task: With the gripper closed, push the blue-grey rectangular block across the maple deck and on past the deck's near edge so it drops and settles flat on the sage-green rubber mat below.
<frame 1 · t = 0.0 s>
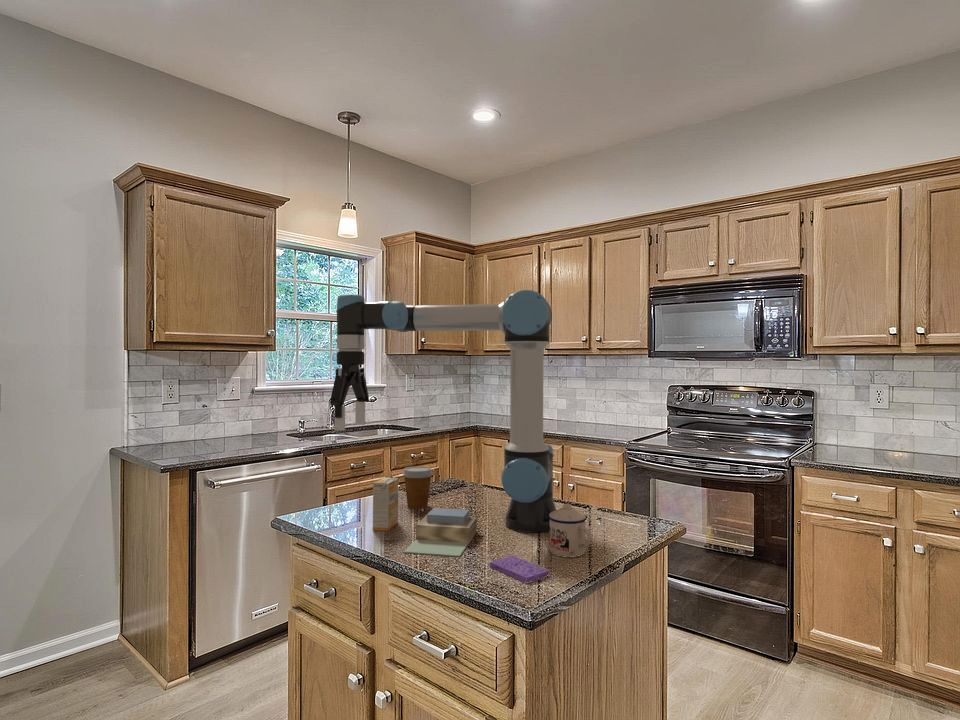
hand: (350, 427, 160), 28 cm above the counter, fingers open, 13 cm apart
deck: (447, 536, 153), on the counter
supplement box: (385, 527, 162), on the counter
blue-grey rectangular block: (448, 519, 154), point 4 cm above the counter, touching deck
disposable coffee cup: (417, 506, 184), on the counter
mat: (436, 548, 143), on the counter
sponges: (519, 574, 128), on the counter
teacup with lid: (571, 554, 140), on the counter
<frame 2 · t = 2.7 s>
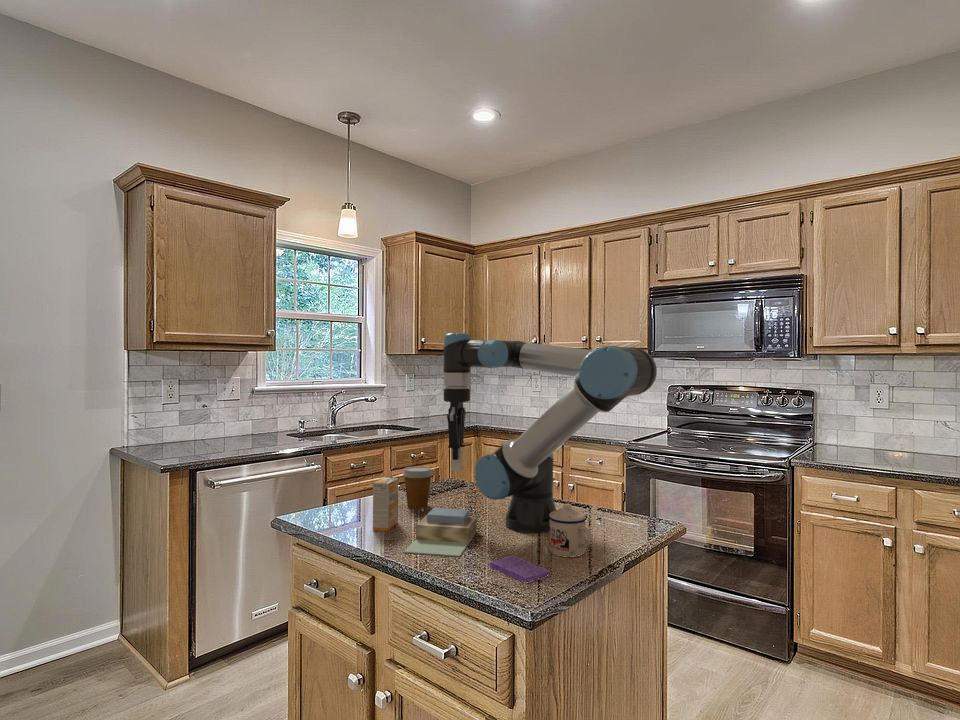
hand: (456, 470, 164), 15 cm above the counter, fingers closed
nothing on the counter moved.
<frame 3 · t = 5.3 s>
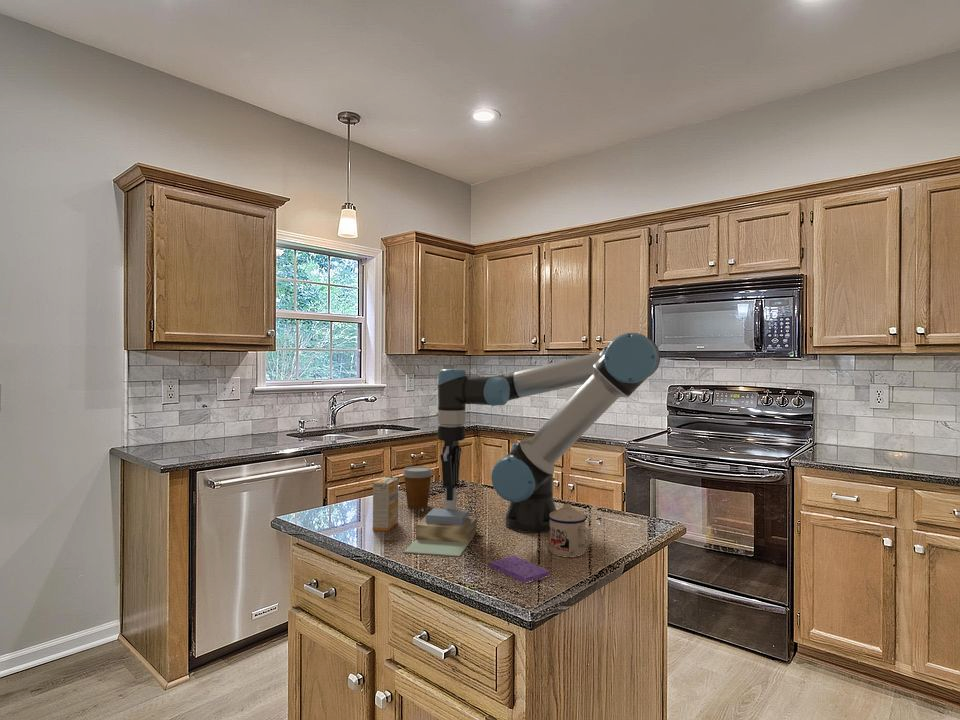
hand: (450, 511, 158), 5 cm above the counter, fingers closed
blue-grey rectangular block: (447, 520, 154), point 4 cm above the counter
everything else where it was.
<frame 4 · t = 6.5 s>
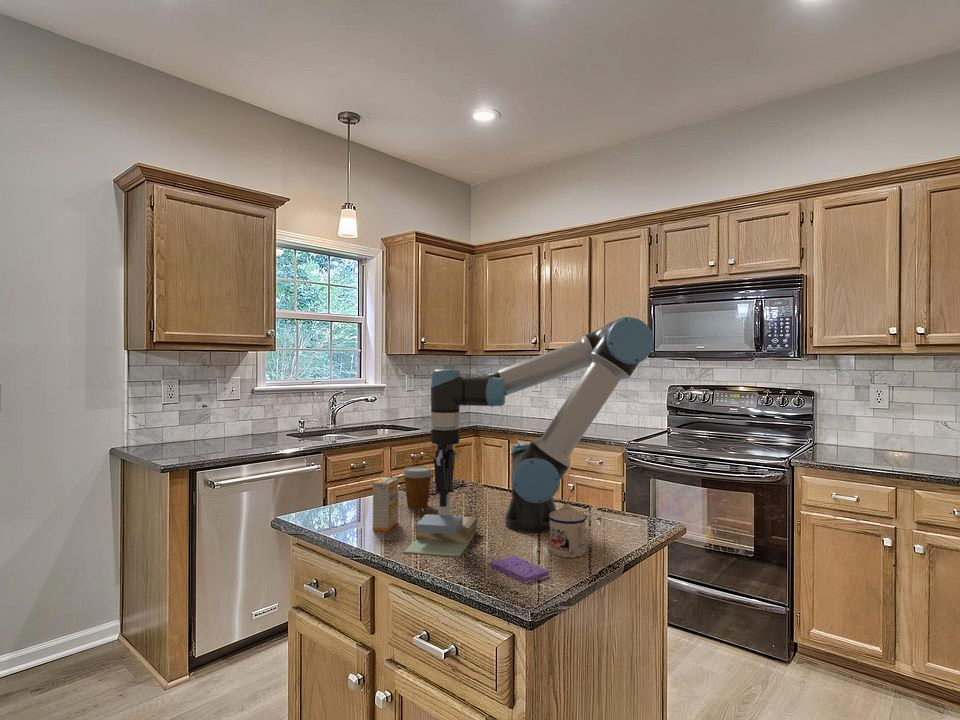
hand: (444, 517, 151), 5 cm above the counter, fingers closed
blue-grey rectangular block: (440, 527, 147), point 4 cm above the counter, tilted 5°, touching gripper
everything else where it was.
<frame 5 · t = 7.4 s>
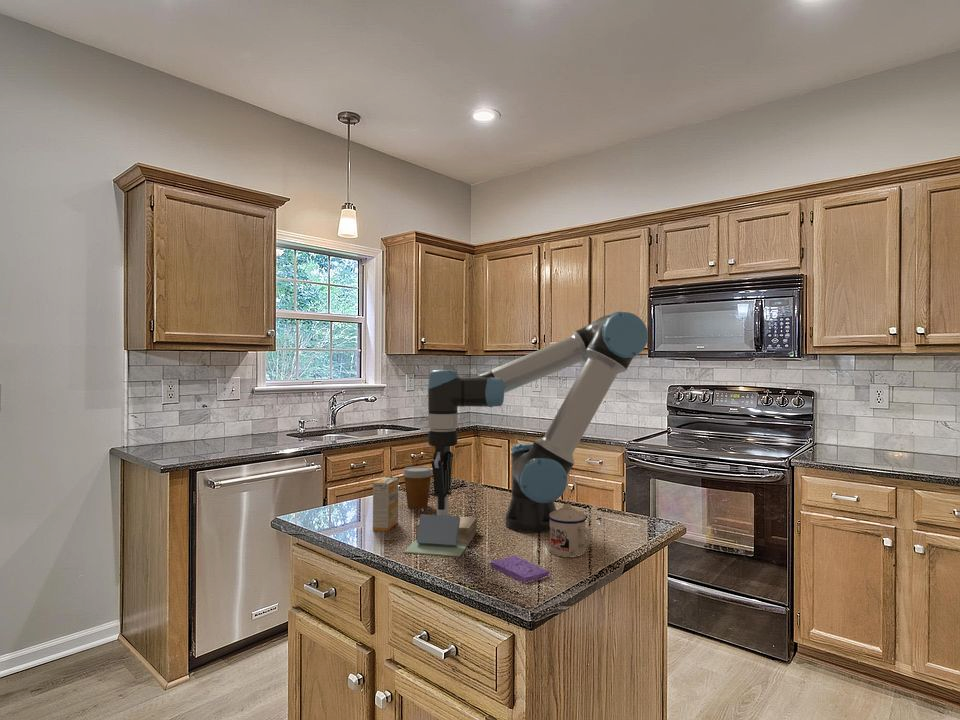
hand: (442, 521, 149), 5 cm above the counter, fingers closed
blue-grey rectangular block: (439, 531, 146), point 3 cm above the counter, tilted 61°, touching gripper, mat
everything else where it was.
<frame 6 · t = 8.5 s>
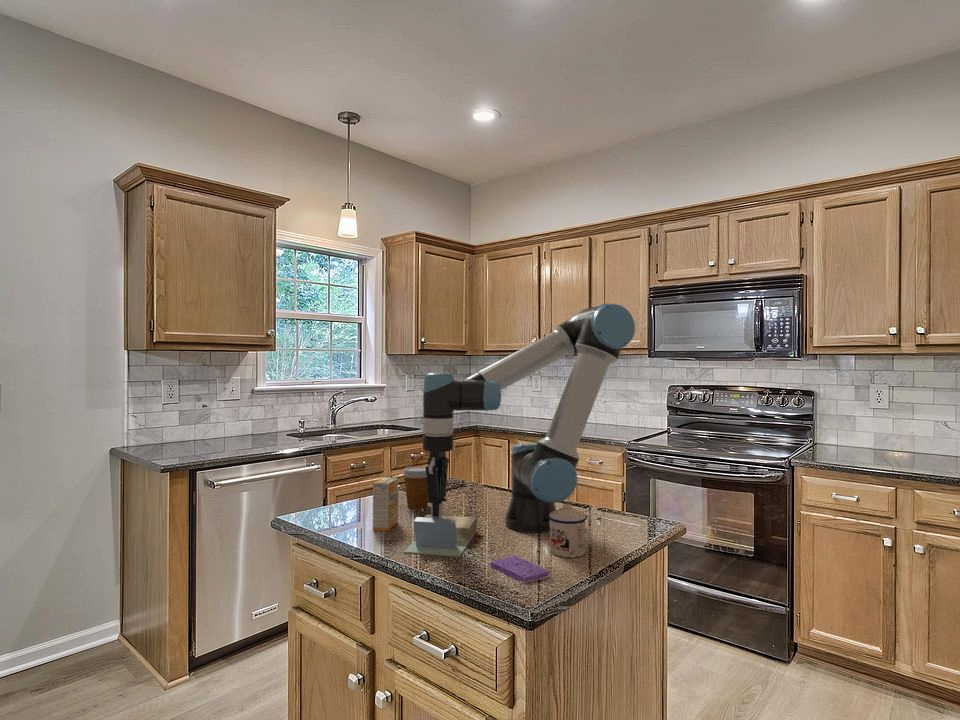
hand: (436, 528, 145), 5 cm above the counter, fingers closed
blue-grey rectangular block: (436, 530, 144), point 4 cm above the counter, tilted 105°, touching mat
everything else where it was.
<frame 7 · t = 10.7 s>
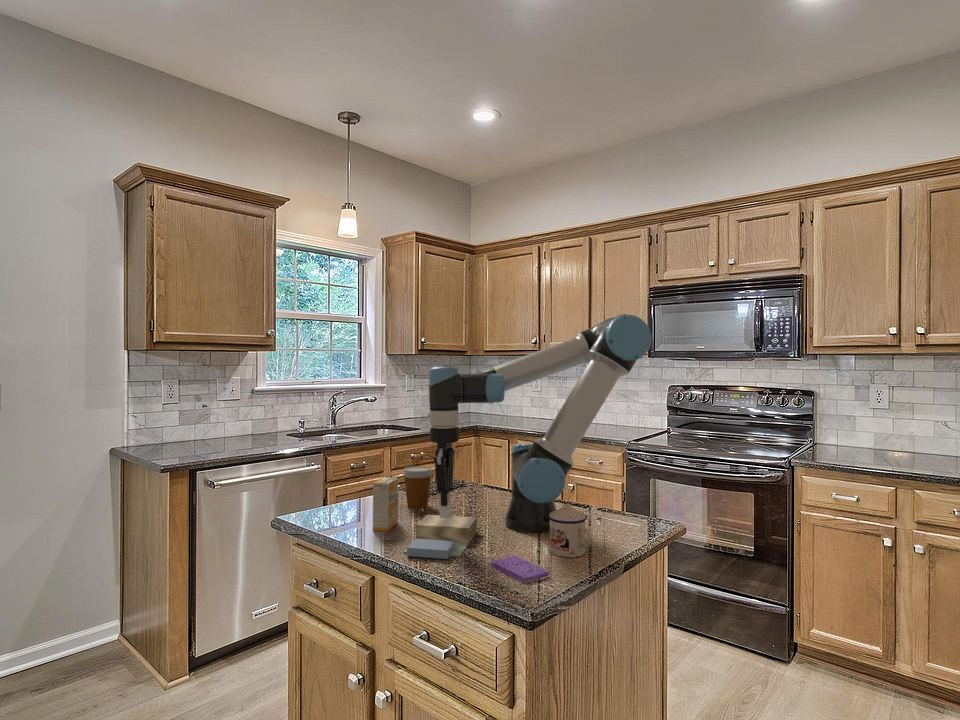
hand: (445, 517, 149), 6 cm above the counter, fingers closed
blue-grey rectangular block: (431, 544, 139), point 2 cm above the counter, tilted 180°, touching mat
everything else where it was.
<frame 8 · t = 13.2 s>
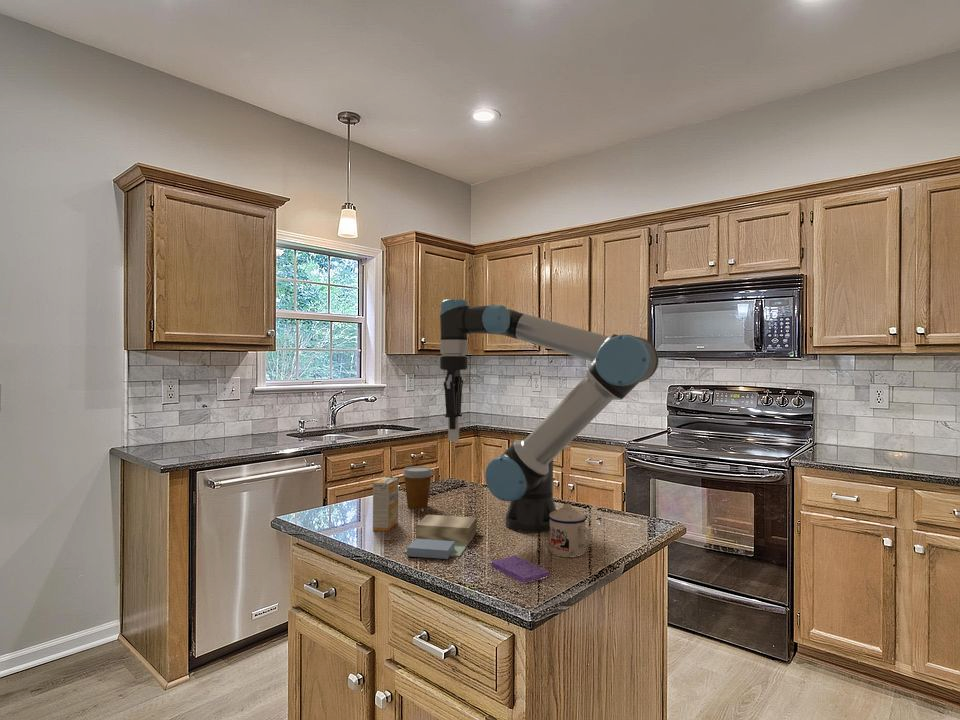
hand: (453, 440, 160), 24 cm above the counter, fingers closed
nothing on the counter moved.
at the end: blue-grey rectangular block point 2.3 cm above the counter; blue-grey rectangular block inside the target area (3.7 cm from its centre), point 2.3 cm above the counter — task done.
